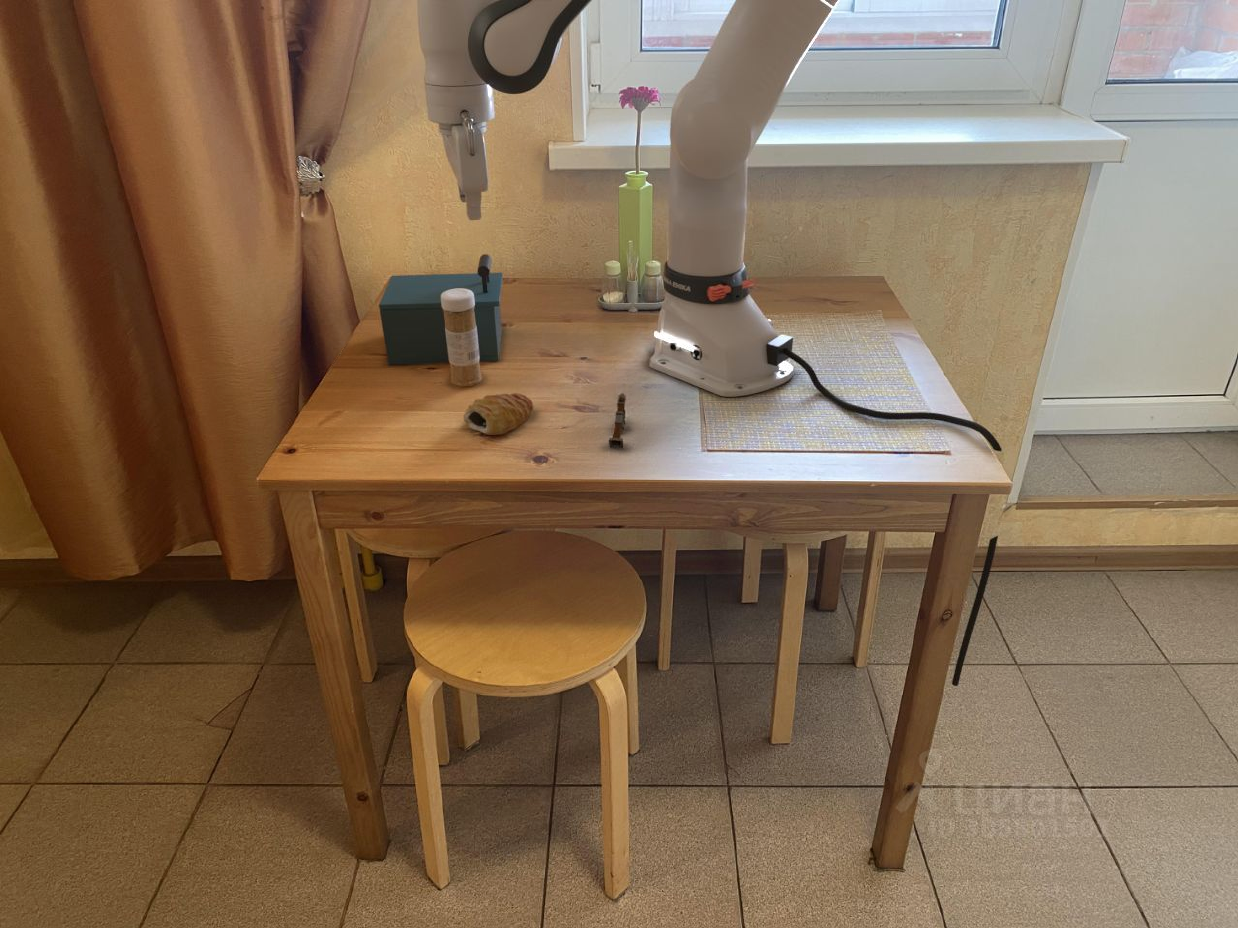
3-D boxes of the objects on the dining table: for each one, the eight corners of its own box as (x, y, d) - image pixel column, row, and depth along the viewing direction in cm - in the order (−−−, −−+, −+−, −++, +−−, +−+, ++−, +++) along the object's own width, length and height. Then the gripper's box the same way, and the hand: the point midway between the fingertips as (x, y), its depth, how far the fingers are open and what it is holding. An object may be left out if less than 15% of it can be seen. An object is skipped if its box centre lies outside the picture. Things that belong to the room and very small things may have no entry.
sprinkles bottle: (471, 371, 131) (462, 284, 124) (488, 381, 128) (480, 293, 121) (444, 380, 129) (434, 292, 122) (460, 390, 126) (450, 301, 119)
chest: (502, 329, 145) (497, 277, 140) (498, 361, 134) (494, 306, 130) (399, 332, 144) (392, 280, 139) (388, 365, 133) (379, 310, 129)
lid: (502, 277, 140) (500, 246, 138) (499, 306, 130) (497, 273, 127) (392, 280, 139) (387, 249, 137) (379, 309, 129) (374, 276, 126)
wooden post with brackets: (630, 411, 118) (629, 390, 114) (624, 460, 113) (622, 439, 110) (616, 410, 118) (615, 389, 114) (610, 459, 114) (608, 438, 110)
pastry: (512, 401, 123) (510, 376, 121) (546, 416, 119) (545, 391, 117) (460, 426, 117) (457, 400, 115) (494, 443, 113) (491, 417, 111)
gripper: (495, 117, 109) (503, 228, 116) (475, 92, 126) (483, 190, 133) (443, 120, 108) (455, 232, 115) (430, 94, 125) (441, 193, 132)
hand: (470, 209), depth 124 cm, fingers open, 8 cm apart
